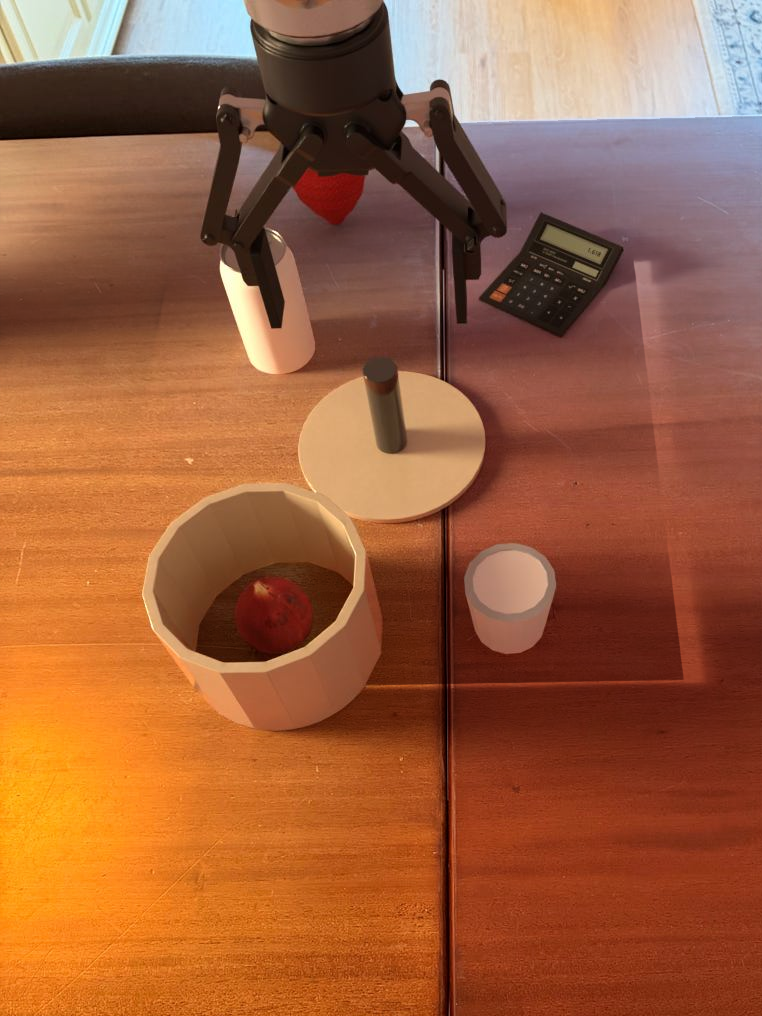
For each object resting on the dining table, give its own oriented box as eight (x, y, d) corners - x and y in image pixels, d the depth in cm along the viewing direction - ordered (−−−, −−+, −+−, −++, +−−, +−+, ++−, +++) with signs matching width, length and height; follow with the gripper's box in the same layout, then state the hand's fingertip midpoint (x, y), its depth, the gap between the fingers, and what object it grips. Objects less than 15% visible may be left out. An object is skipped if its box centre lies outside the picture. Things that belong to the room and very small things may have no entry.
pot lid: (293, 529, 80) (266, 454, 71) (307, 381, 88) (285, 296, 79) (486, 525, 80) (484, 449, 71) (484, 377, 87) (482, 291, 78)
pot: (176, 732, 72) (127, 674, 62) (201, 559, 79) (161, 484, 69) (378, 729, 71) (360, 670, 62) (386, 556, 79) (370, 480, 69)
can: (236, 365, 89) (199, 262, 78) (271, 320, 91) (240, 214, 81) (294, 387, 87) (265, 285, 77) (328, 340, 90) (305, 235, 79)
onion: (328, 611, 76) (310, 558, 69) (310, 675, 73) (289, 627, 66) (259, 601, 76) (234, 548, 69) (239, 664, 74) (210, 615, 67)
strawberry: (303, 204, 99) (283, 113, 90) (373, 203, 99) (361, 112, 90) (297, 242, 96) (276, 153, 87) (369, 242, 96) (356, 152, 87)
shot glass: (527, 677, 73) (529, 636, 67) (451, 640, 75) (446, 596, 69) (566, 610, 76) (572, 564, 70) (492, 575, 77) (491, 528, 71)
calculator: (479, 304, 92) (478, 279, 89) (541, 234, 96) (542, 209, 93) (560, 342, 89) (562, 317, 86) (621, 269, 93) (624, 243, 91)
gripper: (73, 57, 49) (195, 354, 67) (553, 41, 48) (540, 346, 67) (99, -24, 52) (208, 281, 71) (547, -39, 52) (537, 272, 70)
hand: (369, 313), depth 69 cm, fingers open, 13 cm apart
